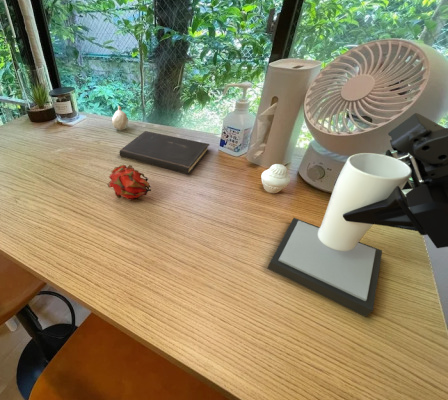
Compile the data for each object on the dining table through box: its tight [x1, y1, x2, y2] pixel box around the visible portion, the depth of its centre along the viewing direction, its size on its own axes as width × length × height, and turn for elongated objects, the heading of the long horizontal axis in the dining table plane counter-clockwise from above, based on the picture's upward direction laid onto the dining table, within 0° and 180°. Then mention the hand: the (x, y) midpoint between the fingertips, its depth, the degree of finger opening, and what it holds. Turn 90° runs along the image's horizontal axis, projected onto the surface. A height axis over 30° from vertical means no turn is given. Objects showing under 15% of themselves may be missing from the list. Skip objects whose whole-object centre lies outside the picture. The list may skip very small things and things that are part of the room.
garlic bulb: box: [111, 105, 129, 131], centre depth 95 cm, size 7×6×8 cm
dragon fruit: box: [106, 164, 152, 202], centre depth 63 cm, size 8×8×12 cm
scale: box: [266, 217, 383, 318], centre depth 45 cm, size 14×14×2 cm
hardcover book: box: [119, 130, 210, 176], centre depth 79 cm, size 16×23×2 cm
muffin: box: [260, 163, 291, 194], centre depth 60 cm, size 6×6×7 cm
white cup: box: [317, 152, 412, 251], centre depth 39 cm, size 7×7×15 cm
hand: (343, 204), depth 39 cm, fingers closed on white cup, 6 cm apart
